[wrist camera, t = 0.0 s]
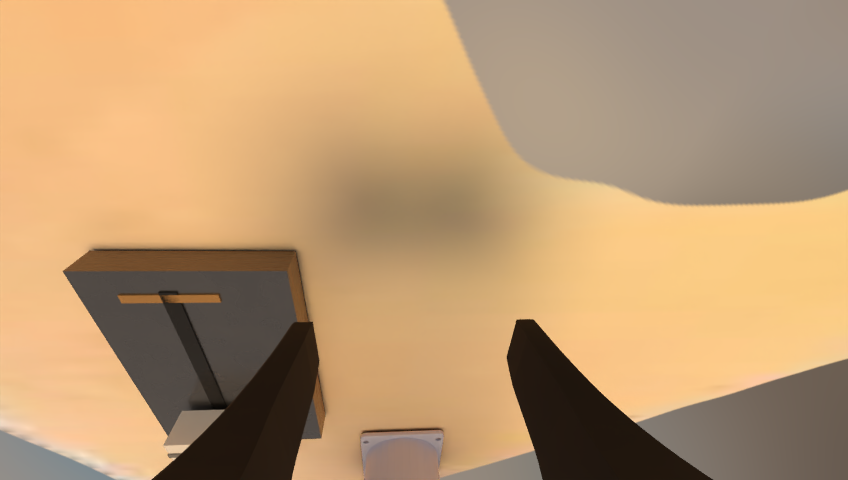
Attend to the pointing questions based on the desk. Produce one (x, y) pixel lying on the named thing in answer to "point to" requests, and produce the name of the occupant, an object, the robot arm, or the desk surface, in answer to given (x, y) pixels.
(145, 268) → the fader console
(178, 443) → the fader knob
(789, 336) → the desk surface
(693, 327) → the desk surface
